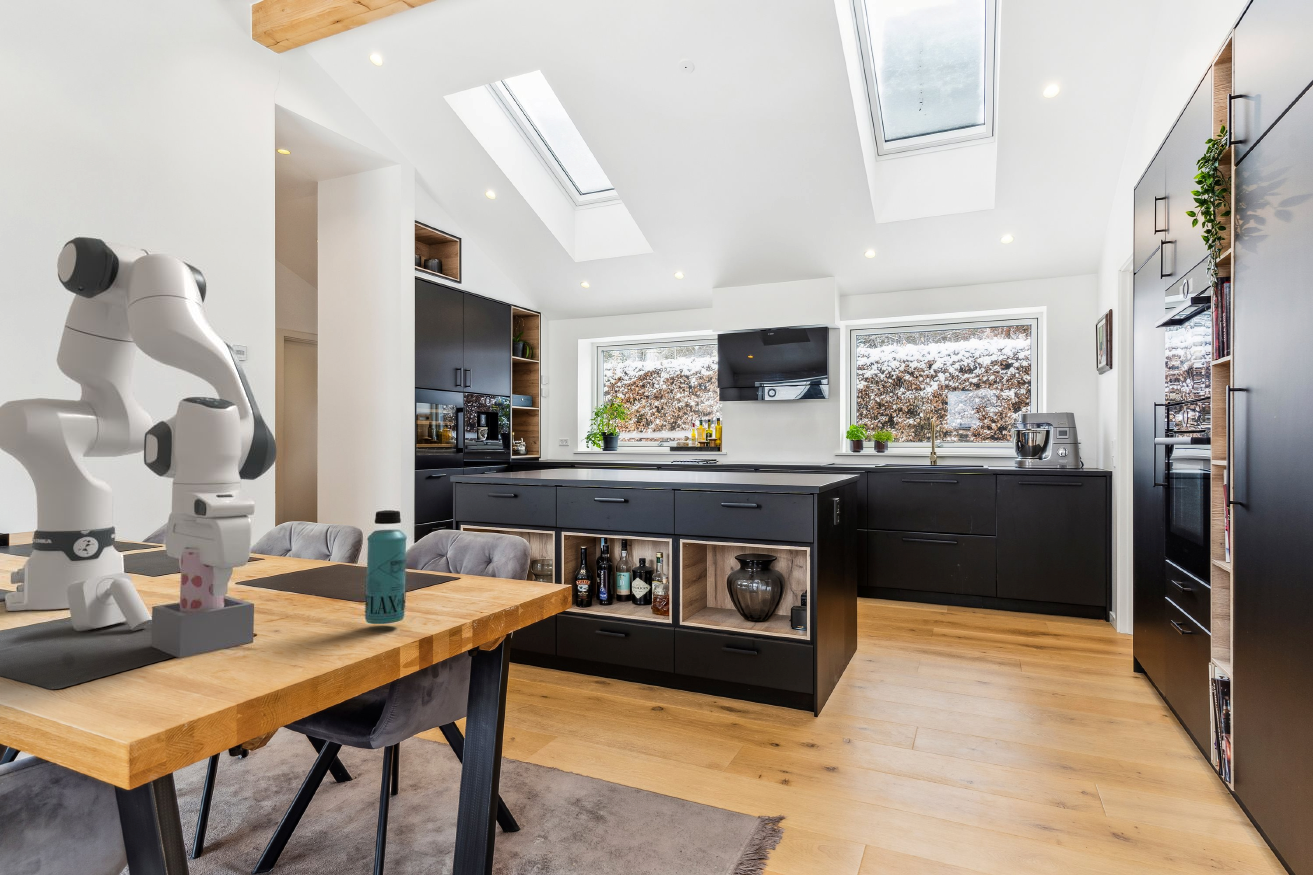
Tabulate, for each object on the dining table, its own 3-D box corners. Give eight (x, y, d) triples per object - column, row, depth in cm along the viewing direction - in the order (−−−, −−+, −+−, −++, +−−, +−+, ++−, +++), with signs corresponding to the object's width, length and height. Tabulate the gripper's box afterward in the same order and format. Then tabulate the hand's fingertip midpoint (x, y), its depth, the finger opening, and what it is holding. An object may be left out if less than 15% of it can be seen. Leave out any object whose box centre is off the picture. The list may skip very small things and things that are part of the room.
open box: (151, 646, 102) (152, 606, 102) (223, 631, 110) (224, 595, 110) (179, 658, 96) (181, 616, 96) (253, 642, 104) (254, 603, 105)
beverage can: (184, 641, 104) (187, 545, 105) (227, 638, 106) (229, 543, 107) (173, 651, 99) (176, 550, 99) (218, 648, 101) (221, 548, 102)
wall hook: (126, 633, 106) (115, 571, 107) (74, 644, 108) (65, 583, 109) (172, 621, 114) (162, 563, 115) (123, 631, 116) (114, 574, 117)
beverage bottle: (355, 632, 111) (358, 511, 111) (377, 622, 117) (380, 508, 118) (392, 634, 110) (395, 512, 110) (412, 624, 116) (415, 509, 117)
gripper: (154, 499, 107) (152, 586, 106) (214, 506, 95) (212, 603, 95) (199, 497, 112) (197, 580, 112) (260, 503, 101) (258, 596, 100)
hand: (204, 591), depth 103 cm, fingers open, 8 cm apart
